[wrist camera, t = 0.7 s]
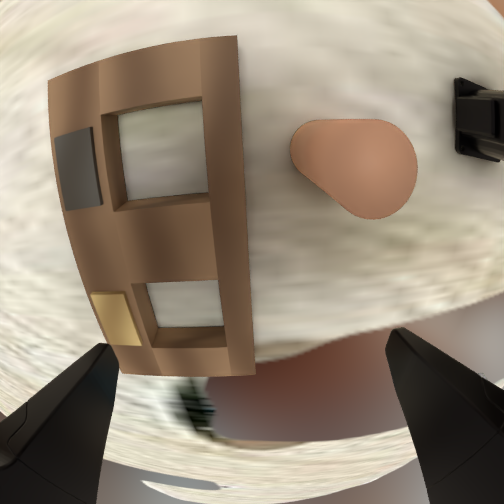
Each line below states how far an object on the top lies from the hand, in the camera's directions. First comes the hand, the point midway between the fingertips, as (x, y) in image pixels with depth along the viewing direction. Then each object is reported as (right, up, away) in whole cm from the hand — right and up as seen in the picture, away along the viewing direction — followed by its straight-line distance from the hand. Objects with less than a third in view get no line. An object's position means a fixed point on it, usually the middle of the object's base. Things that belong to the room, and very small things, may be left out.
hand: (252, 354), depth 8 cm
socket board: (-6, +4, +11) cm, 13 cm away
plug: (+4, +10, +9) cm, 14 cm away
